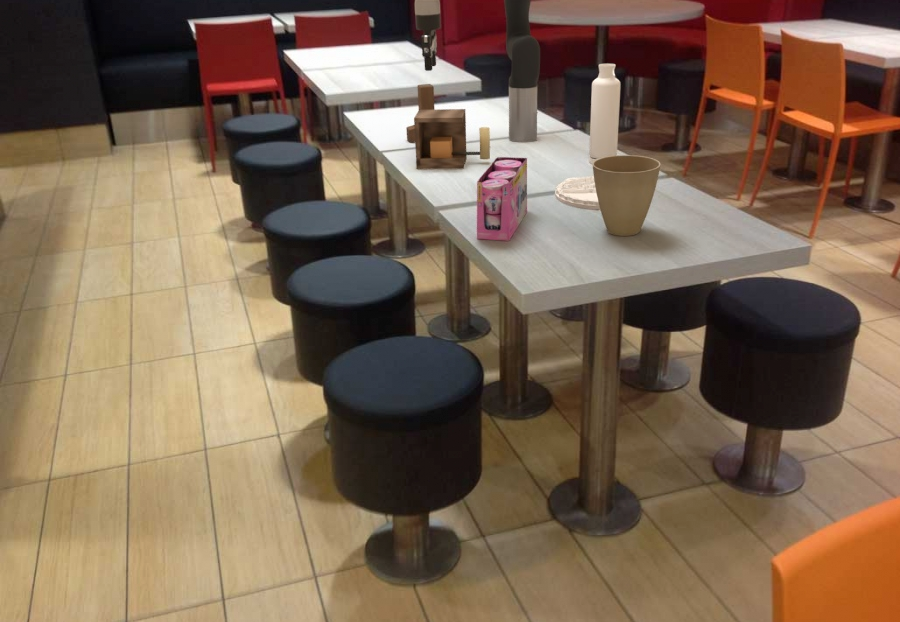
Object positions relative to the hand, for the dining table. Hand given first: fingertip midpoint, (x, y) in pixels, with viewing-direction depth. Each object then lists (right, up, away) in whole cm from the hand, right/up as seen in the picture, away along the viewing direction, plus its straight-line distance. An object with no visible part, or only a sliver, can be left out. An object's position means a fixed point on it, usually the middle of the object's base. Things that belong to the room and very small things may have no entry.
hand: (430, 68), depth 256 cm
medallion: (+44, -44, -36) cm, 73 cm away
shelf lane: (+4, -30, -4) cm, 30 cm away
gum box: (+19, -54, -56) cm, 80 cm away
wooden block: (-4, -17, +25) cm, 30 cm away
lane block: (+9, -29, -5) cm, 30 cm away
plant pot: (+46, -56, -63) cm, 96 cm away
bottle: (+51, -30, -8) cm, 60 cm away
